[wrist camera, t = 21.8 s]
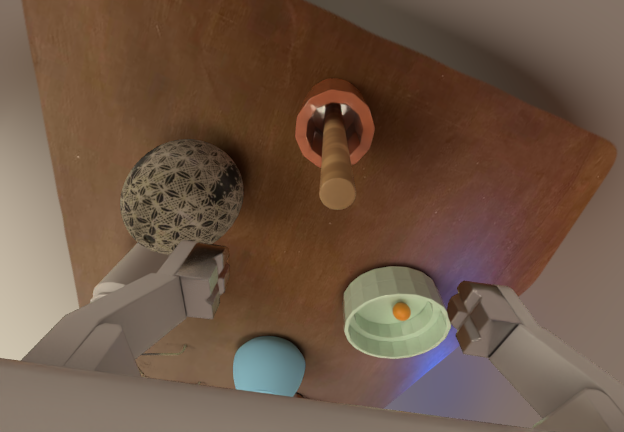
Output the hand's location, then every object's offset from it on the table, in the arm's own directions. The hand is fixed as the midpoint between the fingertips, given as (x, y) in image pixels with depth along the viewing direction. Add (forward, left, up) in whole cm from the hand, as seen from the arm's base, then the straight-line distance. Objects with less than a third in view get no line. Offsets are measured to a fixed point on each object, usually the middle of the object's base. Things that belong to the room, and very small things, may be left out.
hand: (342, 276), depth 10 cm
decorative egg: (+8, +16, -27) cm, 32 cm away
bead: (-30, +18, -25) cm, 43 cm away
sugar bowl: (-22, +47, -27) cm, 59 cm away
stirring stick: (0, 0, -26) cm, 26 cm away
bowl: (-28, +18, -27) cm, 43 cm away
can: (+8, +35, -27) cm, 45 cm away
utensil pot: (0, 0, -27) cm, 27 cm away
